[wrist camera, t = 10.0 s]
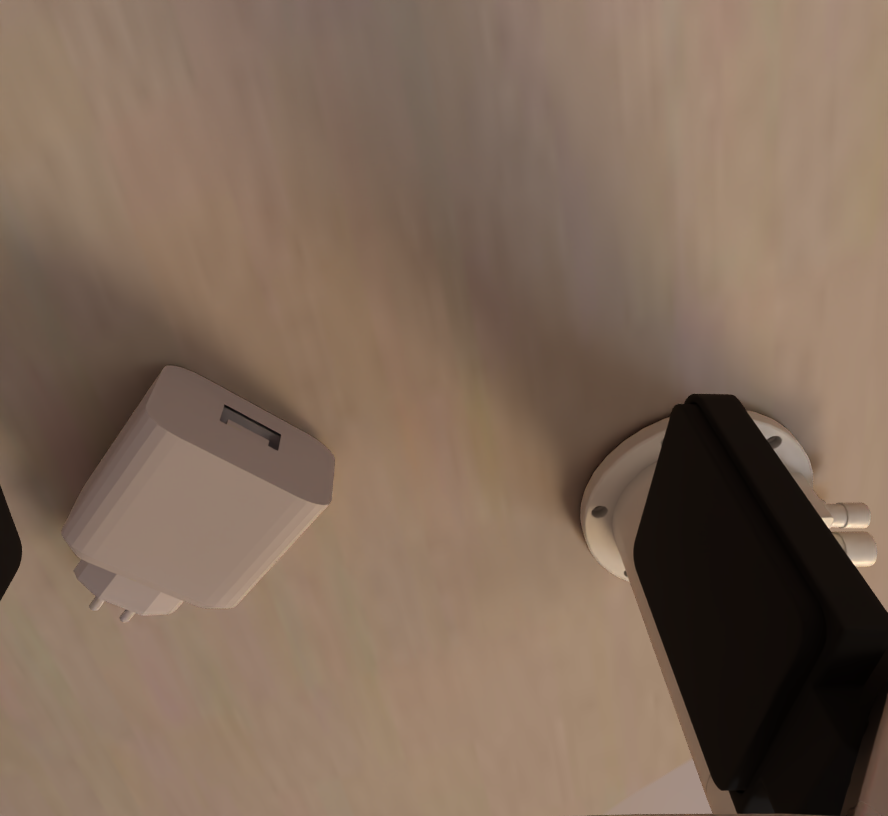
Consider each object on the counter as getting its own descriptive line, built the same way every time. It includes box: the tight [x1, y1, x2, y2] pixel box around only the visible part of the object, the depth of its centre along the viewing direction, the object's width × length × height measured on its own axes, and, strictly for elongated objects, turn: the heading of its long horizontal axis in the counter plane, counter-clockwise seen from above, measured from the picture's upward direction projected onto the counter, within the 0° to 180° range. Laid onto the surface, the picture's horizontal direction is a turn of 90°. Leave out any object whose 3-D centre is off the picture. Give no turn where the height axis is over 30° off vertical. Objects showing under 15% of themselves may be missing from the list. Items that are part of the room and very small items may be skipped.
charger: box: [61, 366, 335, 622], centre depth 37 cm, size 5×9×15 cm
